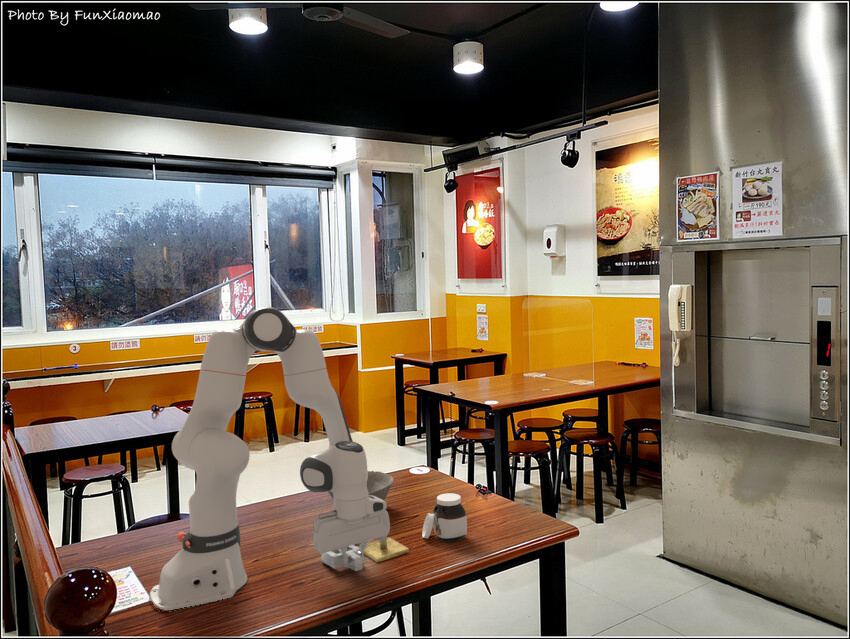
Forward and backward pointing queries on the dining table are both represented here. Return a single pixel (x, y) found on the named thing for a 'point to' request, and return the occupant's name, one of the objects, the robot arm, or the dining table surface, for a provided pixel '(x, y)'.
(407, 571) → the dining table surface
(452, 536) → the spread jar
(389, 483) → the ceramic bowl
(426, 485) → the dining table surface
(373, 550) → the post
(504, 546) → the dining table surface
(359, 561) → the grey square frame handle
